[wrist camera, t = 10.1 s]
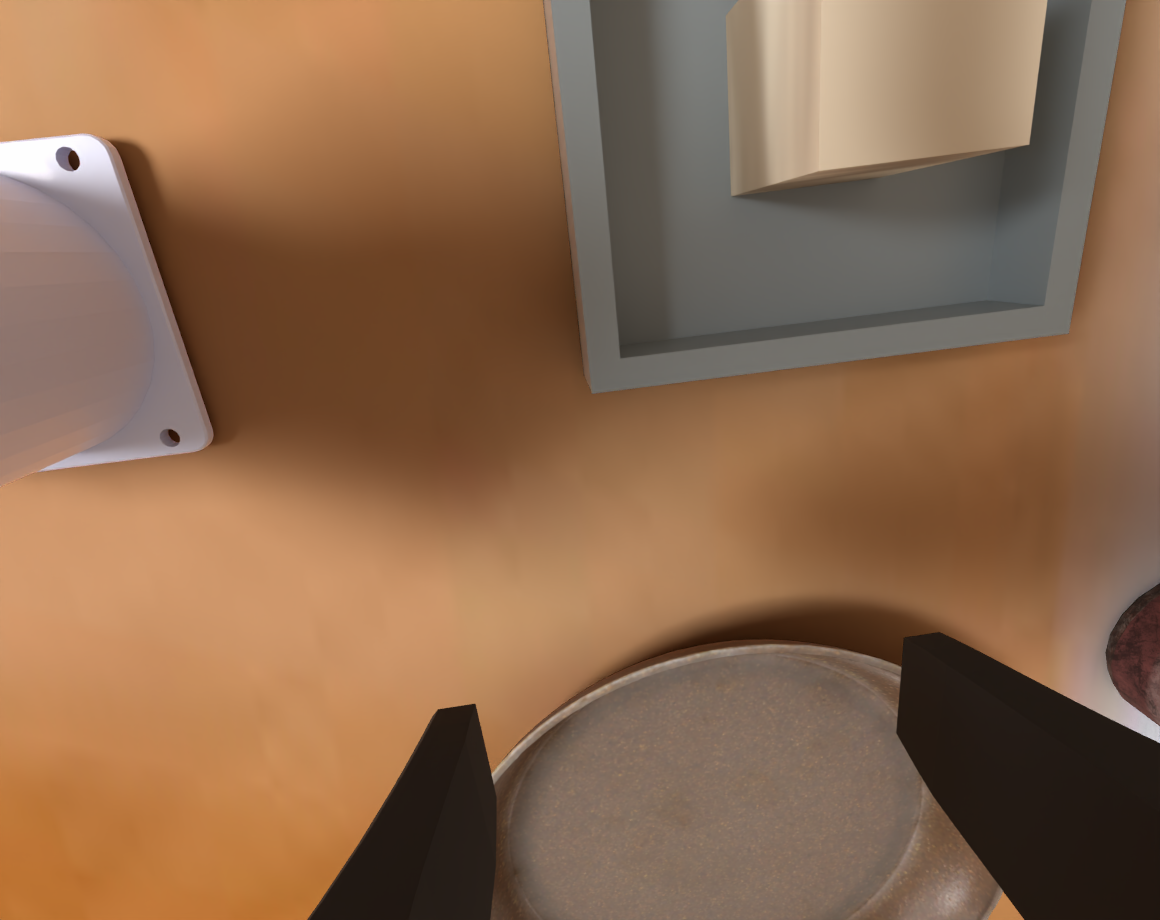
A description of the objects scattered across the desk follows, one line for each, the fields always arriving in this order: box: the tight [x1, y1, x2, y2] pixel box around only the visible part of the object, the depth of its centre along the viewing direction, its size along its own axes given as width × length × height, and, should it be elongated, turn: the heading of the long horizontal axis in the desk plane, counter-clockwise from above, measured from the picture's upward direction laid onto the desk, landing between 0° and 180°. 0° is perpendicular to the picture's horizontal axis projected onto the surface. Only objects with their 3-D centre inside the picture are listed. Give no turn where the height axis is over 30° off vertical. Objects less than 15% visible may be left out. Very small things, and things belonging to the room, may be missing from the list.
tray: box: [543, 0, 1126, 394], centre depth 14 cm, size 13×13×2 cm
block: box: [726, 0, 1047, 196], centre depth 12 cm, size 4×4×5 cm
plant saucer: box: [490, 639, 1003, 920], centre depth 22 cm, size 21×21×3 cm
